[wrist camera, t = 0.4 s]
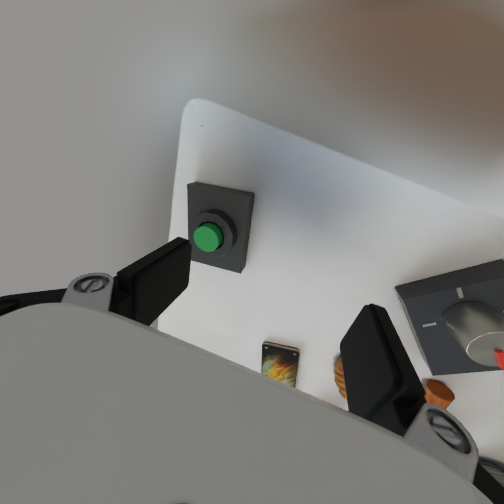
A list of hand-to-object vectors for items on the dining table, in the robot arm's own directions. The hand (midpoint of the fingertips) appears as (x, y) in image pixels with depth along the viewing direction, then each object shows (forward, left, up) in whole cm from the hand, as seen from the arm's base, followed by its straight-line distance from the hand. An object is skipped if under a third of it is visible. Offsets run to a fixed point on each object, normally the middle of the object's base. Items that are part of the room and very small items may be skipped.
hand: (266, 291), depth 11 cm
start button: (+6, -10, -15) cm, 19 cm away
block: (+6, -10, -19) cm, 22 cm away
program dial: (+6, +23, -16) cm, 29 cm away
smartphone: (+33, +7, -19) cm, 39 cm away
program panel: (+8, +25, -19) cm, 32 cm away
